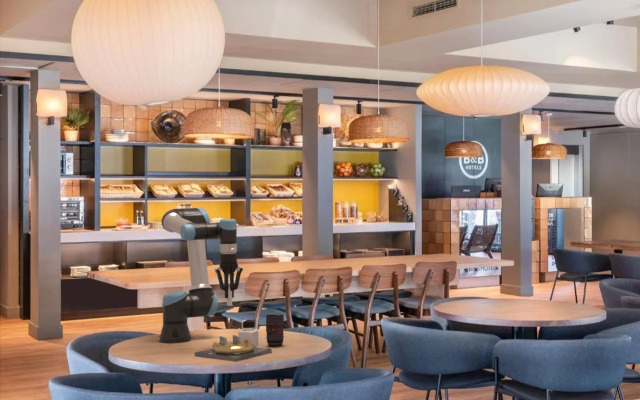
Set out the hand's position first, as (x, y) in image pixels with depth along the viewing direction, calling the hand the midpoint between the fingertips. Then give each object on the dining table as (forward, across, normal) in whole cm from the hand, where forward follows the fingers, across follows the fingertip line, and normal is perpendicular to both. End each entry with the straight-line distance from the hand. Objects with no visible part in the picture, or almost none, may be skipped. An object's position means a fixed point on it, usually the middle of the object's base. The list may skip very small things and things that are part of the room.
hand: (229, 305), depth 415 cm
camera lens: (+21, +22, 0) cm, 30 cm away
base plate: (+20, -2, -10) cm, 23 cm away
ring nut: (+19, -2, -10) cm, 21 cm away
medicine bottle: (+21, +11, +7) cm, 24 cm away
